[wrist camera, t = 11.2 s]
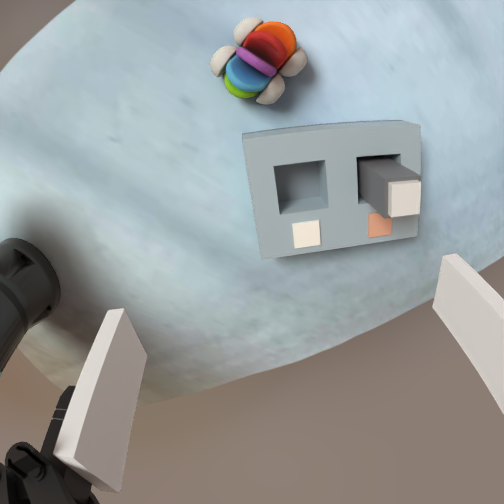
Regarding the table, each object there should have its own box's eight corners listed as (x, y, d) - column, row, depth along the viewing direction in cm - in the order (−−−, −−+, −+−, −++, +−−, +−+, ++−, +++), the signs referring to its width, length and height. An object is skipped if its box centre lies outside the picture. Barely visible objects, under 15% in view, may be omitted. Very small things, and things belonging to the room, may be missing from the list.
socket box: (259, 240, 41) (261, 261, 37) (242, 133, 35) (241, 140, 30) (400, 220, 40) (418, 237, 36) (400, 120, 34) (421, 125, 29)
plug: (352, 187, 37) (387, 221, 28) (350, 156, 35) (388, 181, 26) (381, 184, 37) (422, 217, 27) (380, 153, 35) (424, 177, 26)
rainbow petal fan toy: (313, 53, 30) (329, 45, 24) (262, 115, 34) (267, 119, 28) (253, 12, 28) (255, -6, 21) (202, 74, 31) (192, 70, 25)
